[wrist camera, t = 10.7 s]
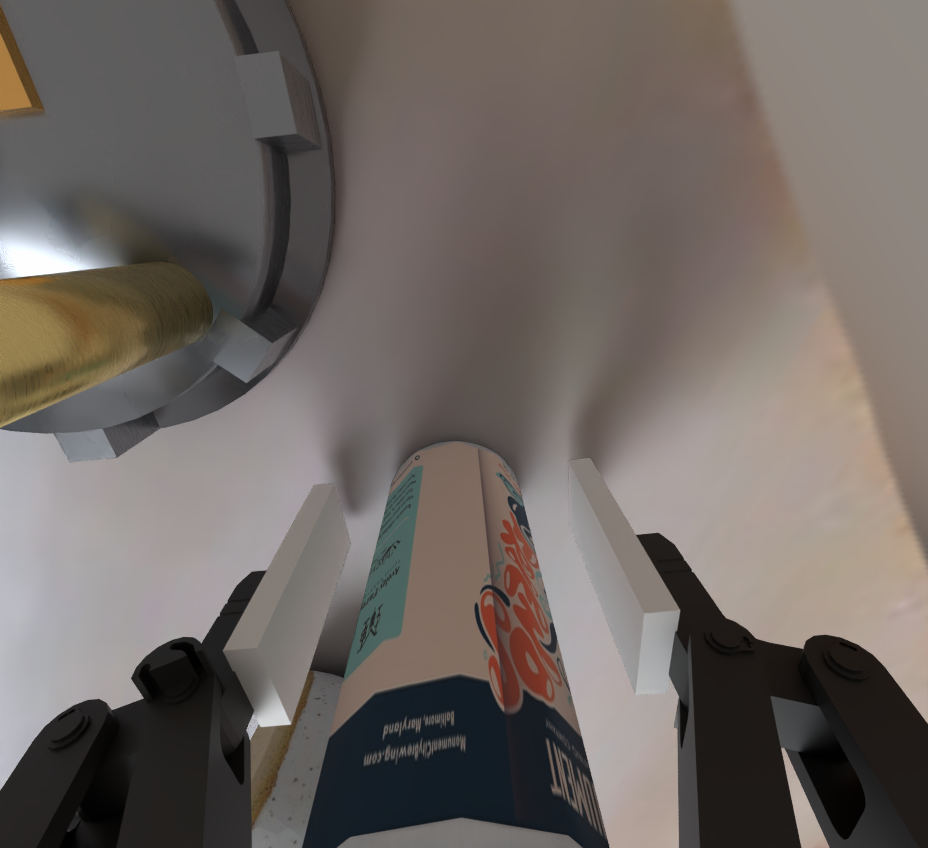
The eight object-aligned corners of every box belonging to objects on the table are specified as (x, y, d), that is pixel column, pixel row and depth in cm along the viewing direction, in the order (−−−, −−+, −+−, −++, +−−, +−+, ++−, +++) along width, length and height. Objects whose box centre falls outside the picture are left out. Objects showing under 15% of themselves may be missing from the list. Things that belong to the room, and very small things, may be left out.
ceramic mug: (312, 626, 19) (227, 856, 12) (466, 686, 21) (469, 915, 14) (233, 743, 23) (136, 969, 16) (370, 785, 25) (335, 1003, 18)
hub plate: (-131, 411, 14) (-150, 417, 14) (-573, -393, 8) (-638, -433, 7) (346, 438, 15) (343, 444, 15) (314, -274, 9) (306, -301, 8)
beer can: (511, 541, 17) (609, 1074, 6) (394, 539, 17) (289, 1081, 6) (523, 435, 15) (691, 947, 4) (390, 432, 15) (224, 954, 4)
